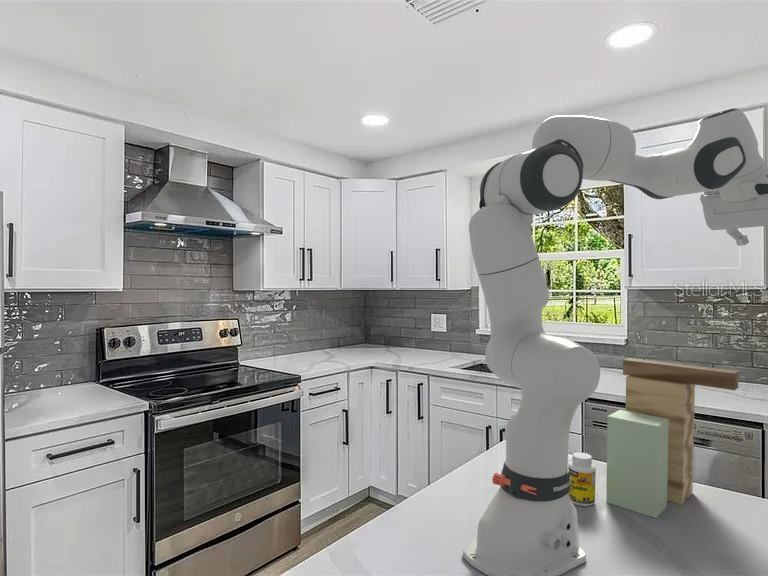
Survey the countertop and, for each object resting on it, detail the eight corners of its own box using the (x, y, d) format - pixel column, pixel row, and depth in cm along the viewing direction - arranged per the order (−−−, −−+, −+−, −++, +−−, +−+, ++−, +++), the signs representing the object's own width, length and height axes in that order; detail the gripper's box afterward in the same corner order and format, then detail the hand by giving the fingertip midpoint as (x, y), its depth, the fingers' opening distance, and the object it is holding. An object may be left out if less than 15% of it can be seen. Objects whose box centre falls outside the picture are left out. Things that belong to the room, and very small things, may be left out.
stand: (682, 504, 107) (684, 385, 107) (624, 487, 116) (626, 376, 115) (692, 493, 113) (694, 379, 112) (636, 477, 122) (638, 371, 121)
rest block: (656, 518, 102) (657, 426, 101) (606, 502, 109) (607, 416, 108) (666, 506, 106) (668, 419, 106) (618, 492, 114) (619, 409, 113)
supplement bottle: (563, 501, 109) (564, 455, 109) (573, 493, 113) (574, 448, 113) (589, 510, 105) (590, 462, 105) (599, 501, 109) (599, 455, 109)
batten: (734, 390, 102) (735, 373, 102) (622, 374, 118) (623, 359, 118) (738, 387, 105) (738, 371, 104) (628, 372, 120) (628, 357, 120)
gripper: (688, 198, 112) (710, 252, 114) (787, 183, 92) (810, 248, 95) (707, 185, 113) (727, 239, 116) (807, 168, 94) (830, 232, 97)
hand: (765, 243), depth 105 cm, fingers open, 8 cm apart
